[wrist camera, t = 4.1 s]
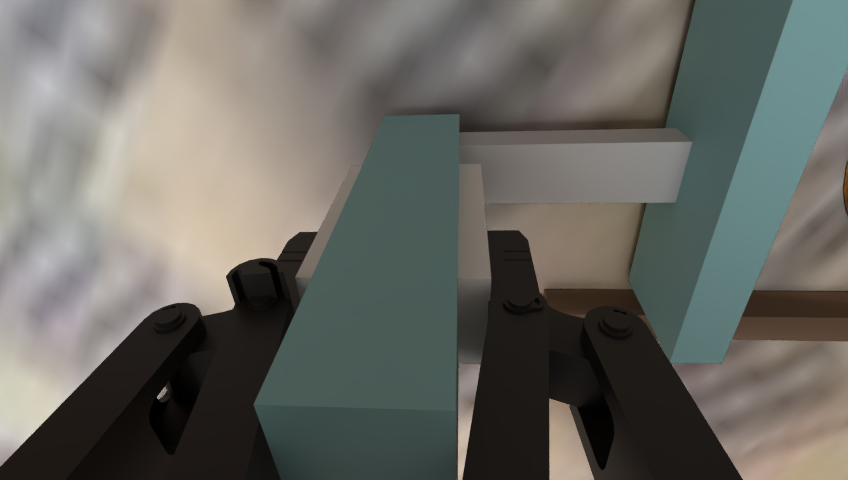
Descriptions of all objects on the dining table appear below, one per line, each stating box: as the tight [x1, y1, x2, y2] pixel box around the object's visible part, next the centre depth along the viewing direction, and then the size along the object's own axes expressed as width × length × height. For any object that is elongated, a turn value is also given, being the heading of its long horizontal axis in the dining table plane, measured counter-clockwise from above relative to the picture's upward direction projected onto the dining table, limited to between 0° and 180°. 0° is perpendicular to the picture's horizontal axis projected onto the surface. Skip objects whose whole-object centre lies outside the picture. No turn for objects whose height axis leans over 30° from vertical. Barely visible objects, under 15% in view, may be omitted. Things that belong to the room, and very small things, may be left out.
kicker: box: [254, 0, 848, 480], centre depth 14 cm, size 14×14×15 cm
